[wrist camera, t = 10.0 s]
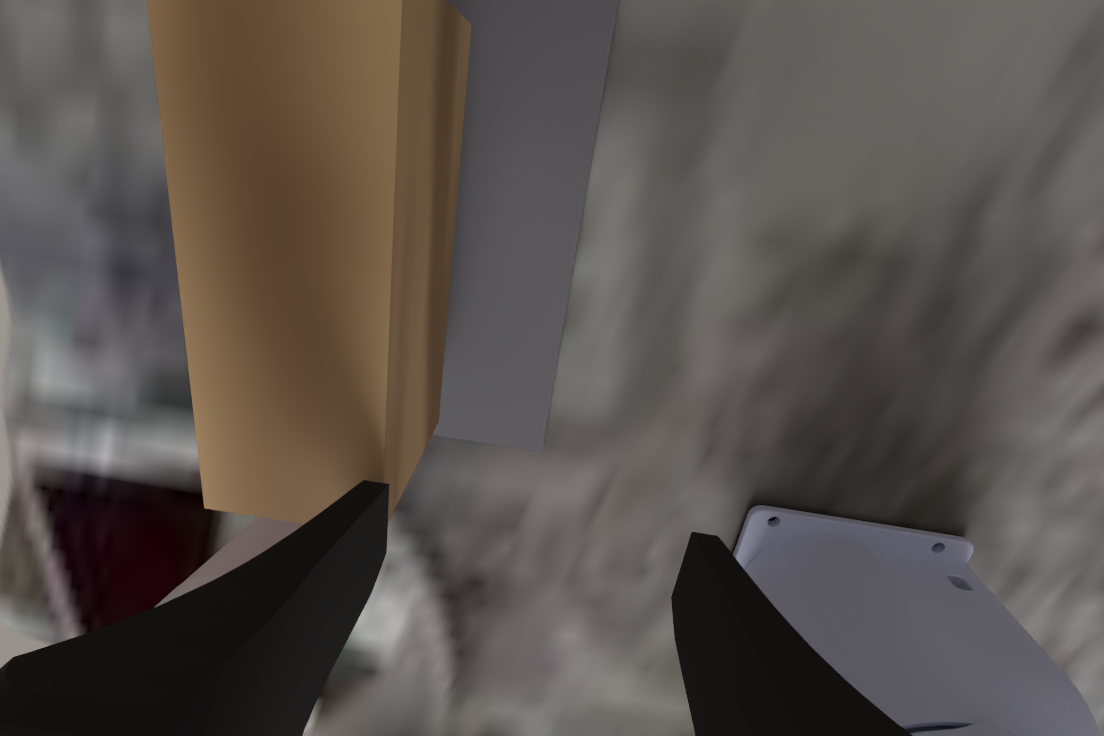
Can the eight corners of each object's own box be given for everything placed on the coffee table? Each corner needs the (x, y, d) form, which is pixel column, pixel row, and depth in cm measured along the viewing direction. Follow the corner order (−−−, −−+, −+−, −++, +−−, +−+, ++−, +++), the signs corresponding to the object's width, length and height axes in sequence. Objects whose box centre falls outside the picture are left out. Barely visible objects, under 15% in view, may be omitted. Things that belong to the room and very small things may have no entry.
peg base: (619, -8, 17) (627, -37, 14) (543, 446, 23) (537, 488, 20) (224, -75, 17) (152, -118, 14) (254, 400, 23) (209, 436, 20)
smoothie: (257, 434, 23) (-144, 800, 10) (406, 465, 24) (194, 861, 11) (256, 551, 26) (-68, 963, 13) (392, 578, 26) (205, 1010, 13)
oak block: (471, 25, 15) (403, -45, 9) (438, 421, 19) (380, 535, 14) (306, -3, 15) (135, -90, 9) (313, 401, 19) (204, 508, 14)
